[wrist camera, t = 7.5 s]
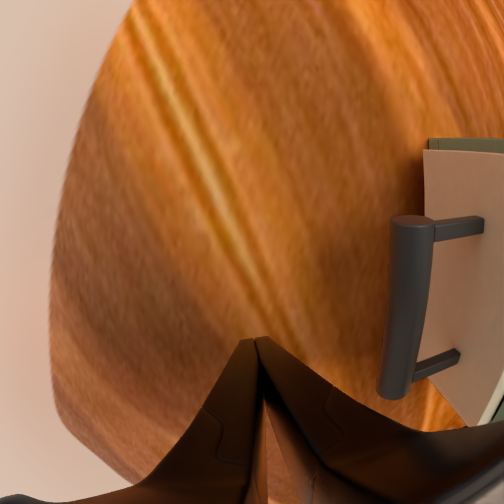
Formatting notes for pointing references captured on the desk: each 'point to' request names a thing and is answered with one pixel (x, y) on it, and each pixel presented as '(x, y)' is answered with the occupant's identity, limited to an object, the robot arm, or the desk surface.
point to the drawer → (449, 287)
